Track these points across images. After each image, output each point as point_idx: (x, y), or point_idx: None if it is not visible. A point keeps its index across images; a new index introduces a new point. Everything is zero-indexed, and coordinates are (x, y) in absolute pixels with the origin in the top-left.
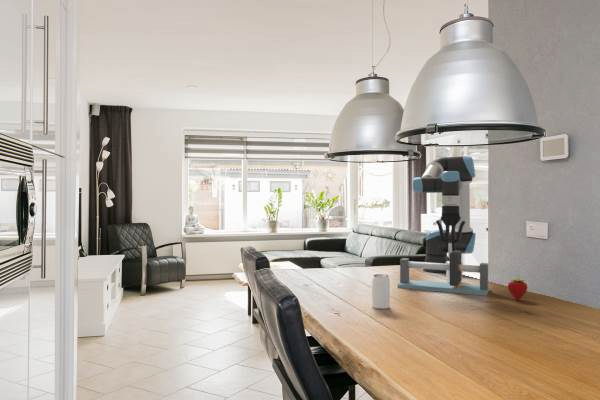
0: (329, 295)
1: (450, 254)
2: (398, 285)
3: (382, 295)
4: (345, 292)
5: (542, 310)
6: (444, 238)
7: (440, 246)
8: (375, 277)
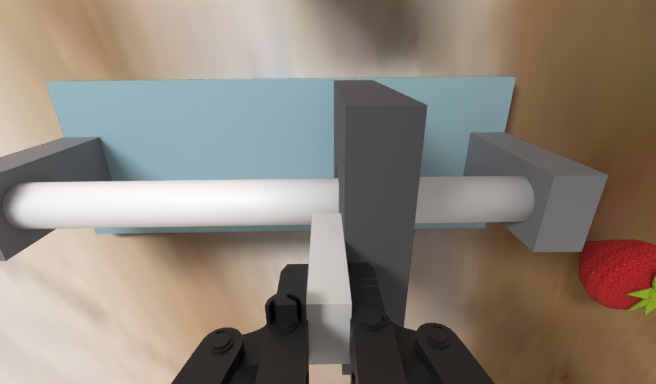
0: None
1: (348, 367)
2: (103, 231)
3: None
4: (16, 376)
5: (618, 345)
6: (227, 373)
7: None
8: None
